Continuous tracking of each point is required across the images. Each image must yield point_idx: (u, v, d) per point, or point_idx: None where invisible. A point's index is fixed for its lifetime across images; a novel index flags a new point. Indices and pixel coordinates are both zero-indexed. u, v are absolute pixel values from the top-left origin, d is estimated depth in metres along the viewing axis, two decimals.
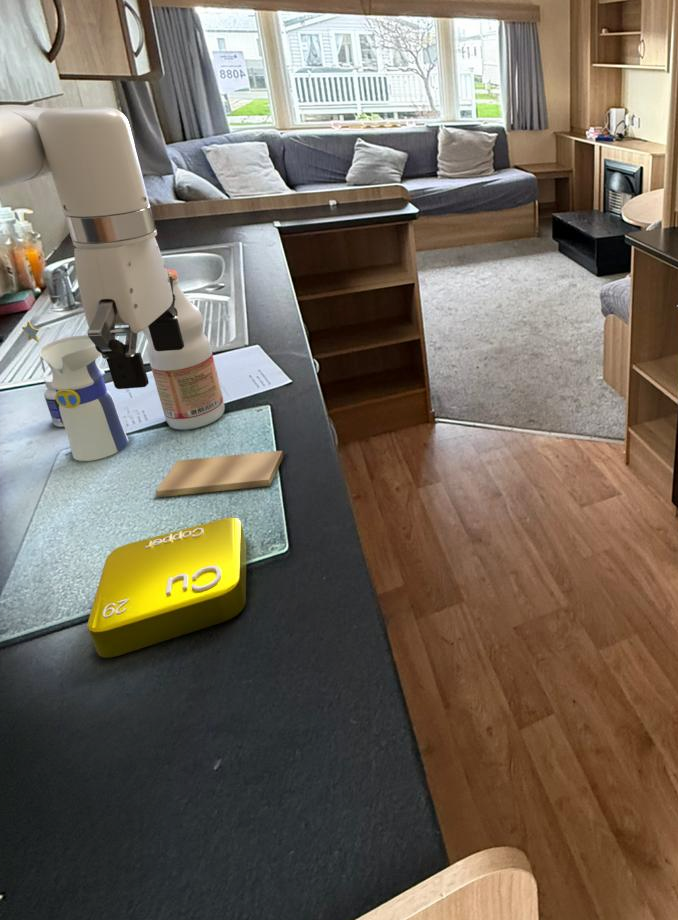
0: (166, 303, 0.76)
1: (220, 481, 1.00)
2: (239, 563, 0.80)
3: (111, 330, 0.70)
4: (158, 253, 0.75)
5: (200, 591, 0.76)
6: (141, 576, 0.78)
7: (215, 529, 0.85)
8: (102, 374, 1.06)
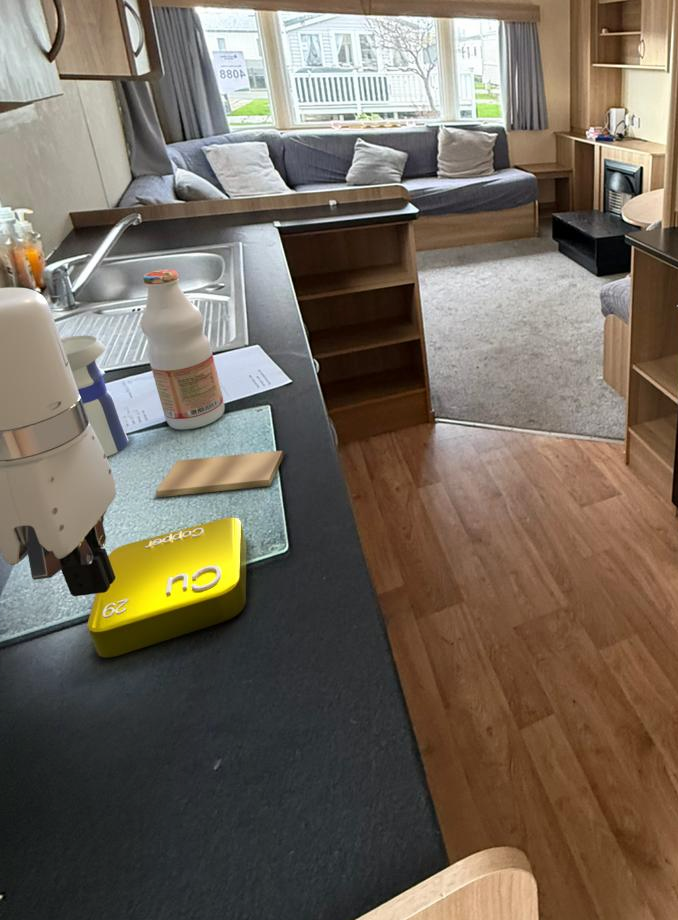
0: (106, 501, 0.63)
1: (220, 481, 1.00)
2: (239, 563, 0.80)
3: None
4: (95, 445, 0.62)
5: (200, 591, 0.76)
6: (141, 576, 0.78)
7: (215, 529, 0.85)
8: (102, 374, 1.06)
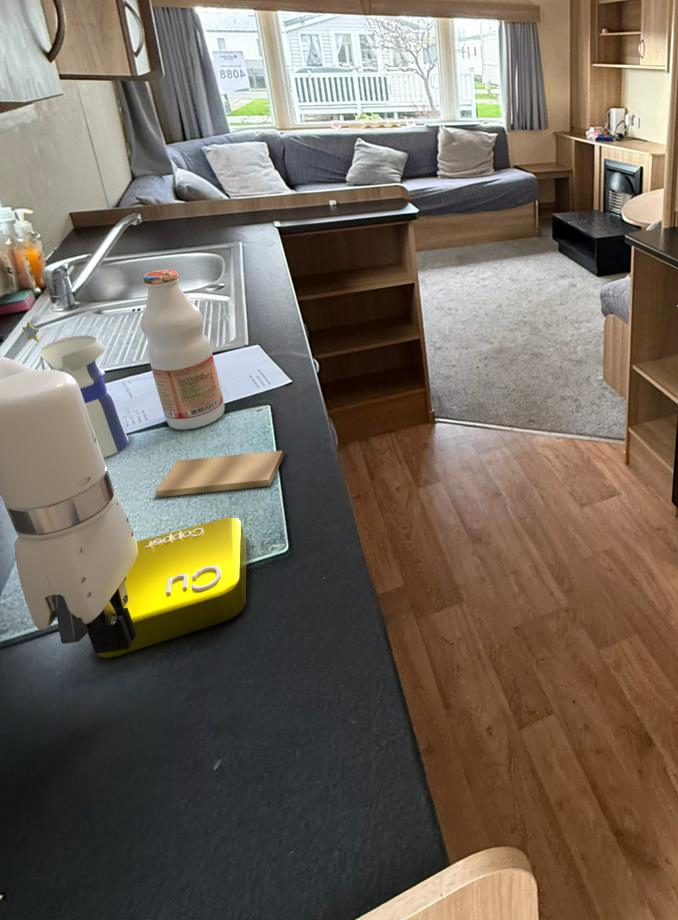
0: (129, 562, 0.67)
1: (220, 481, 1.00)
2: (239, 563, 0.80)
3: None
4: (119, 510, 0.65)
5: (200, 591, 0.76)
6: (141, 576, 0.78)
7: (215, 529, 0.85)
8: (102, 374, 1.06)
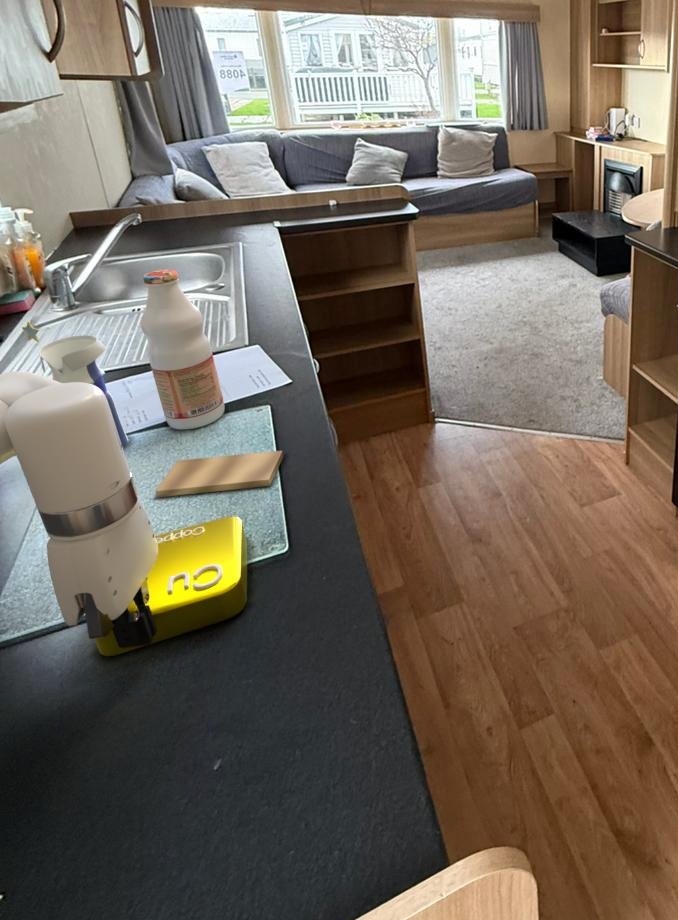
0: (150, 562, 0.71)
1: (220, 481, 1.00)
2: (240, 562, 0.80)
3: None
4: (141, 514, 0.69)
5: (201, 590, 0.76)
6: None
7: (216, 527, 0.86)
8: (102, 374, 1.06)
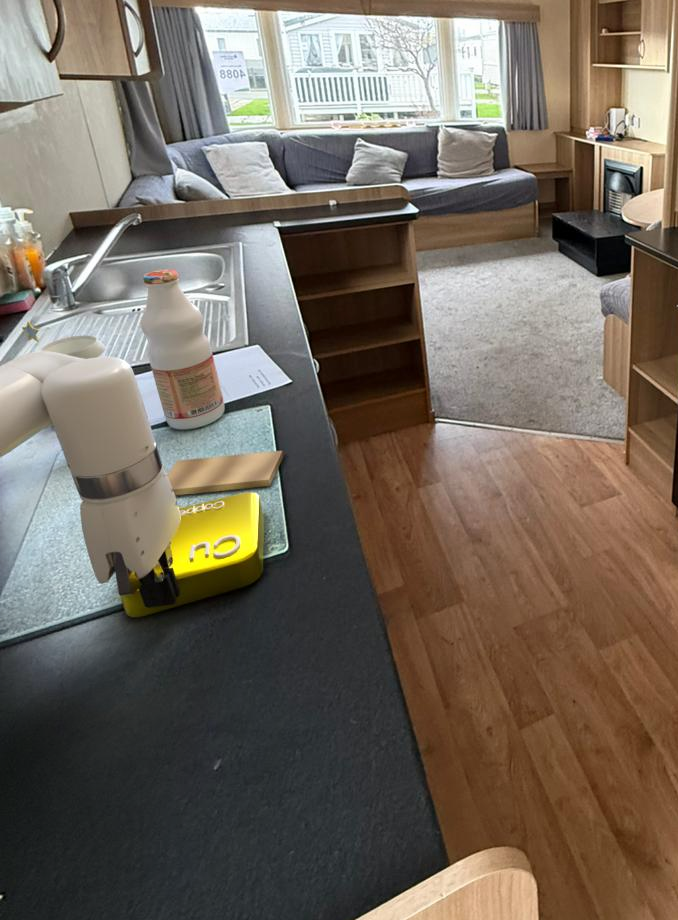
0: (174, 528, 0.75)
1: (220, 481, 1.00)
2: (257, 533, 0.85)
3: None
4: (165, 481, 0.74)
5: (221, 558, 0.81)
6: None
7: (235, 502, 0.90)
8: None
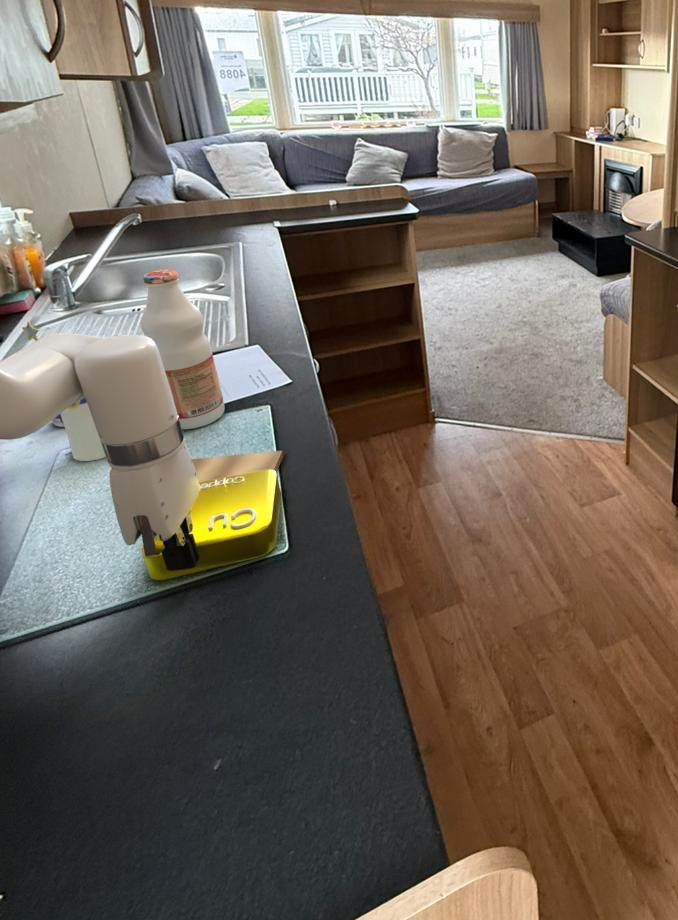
0: (193, 496, 0.81)
1: None
2: (272, 508, 0.90)
3: None
4: (186, 453, 0.79)
5: (237, 529, 0.85)
6: None
7: (254, 478, 0.96)
8: None
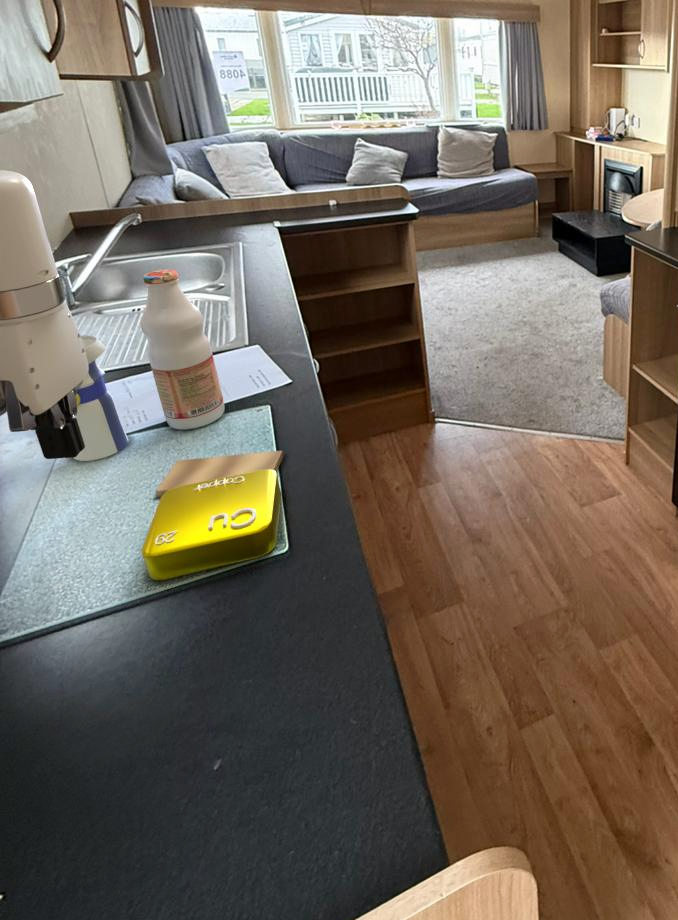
0: (79, 375, 0.71)
1: None
2: (272, 507, 0.90)
3: (28, 410, 0.67)
4: (70, 323, 0.69)
5: (237, 529, 0.85)
6: (188, 513, 0.88)
7: (254, 478, 0.96)
8: (102, 374, 1.06)
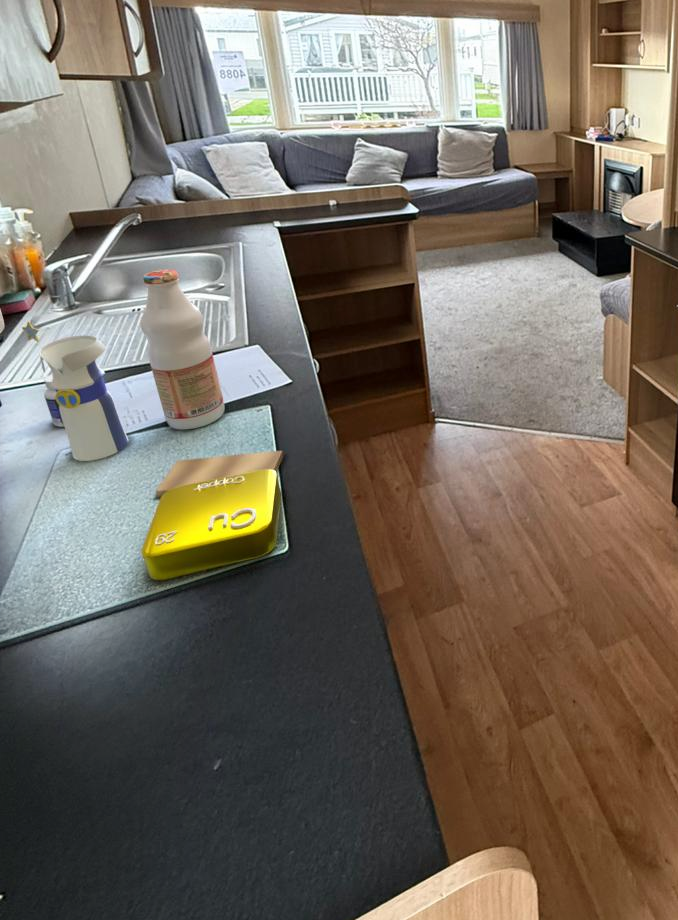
0: None
1: None
2: (272, 507, 0.90)
3: None
4: None
5: (237, 529, 0.85)
6: (188, 513, 0.88)
7: (254, 478, 0.96)
8: (102, 374, 1.06)
